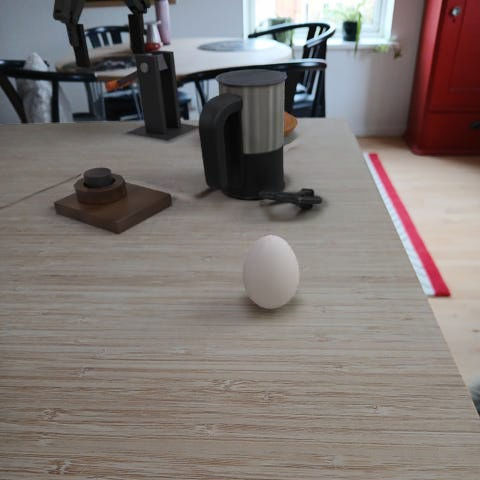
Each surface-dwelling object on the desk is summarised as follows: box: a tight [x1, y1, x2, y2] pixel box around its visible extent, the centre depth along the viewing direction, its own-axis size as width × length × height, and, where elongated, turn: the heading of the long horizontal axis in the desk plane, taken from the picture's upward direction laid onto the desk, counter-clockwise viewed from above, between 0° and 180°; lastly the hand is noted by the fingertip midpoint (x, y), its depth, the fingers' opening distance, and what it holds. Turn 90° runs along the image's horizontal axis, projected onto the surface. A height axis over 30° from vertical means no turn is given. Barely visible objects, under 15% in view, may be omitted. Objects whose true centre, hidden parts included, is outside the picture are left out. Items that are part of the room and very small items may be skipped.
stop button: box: [83, 166, 113, 188], centre depth 68 cm, size 4×4×2 cm
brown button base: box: [53, 172, 173, 235], centre depth 68 cm, size 12×10×4 cm
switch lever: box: [104, 54, 167, 92], centre depth 91 cm, size 13×5×2 cm, turn 55°
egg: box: [242, 234, 300, 310], centre depth 48 cm, size 5×5×7 cm
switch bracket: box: [127, 49, 199, 142], centre depth 91 cm, size 10×9×14 cm
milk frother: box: [198, 68, 323, 210], centre depth 66 cm, size 14×16×15 cm
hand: (113, 60), depth 93 cm, fingers open, 13 cm apart
